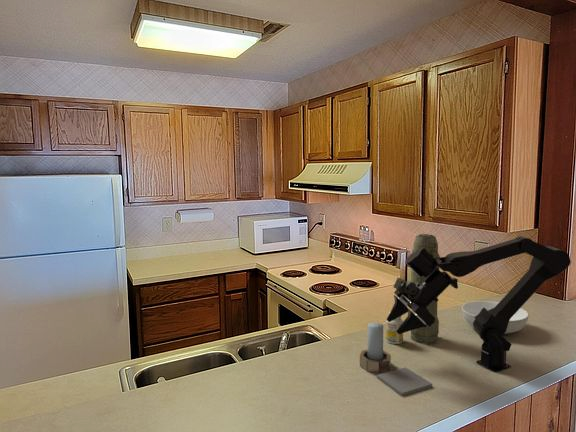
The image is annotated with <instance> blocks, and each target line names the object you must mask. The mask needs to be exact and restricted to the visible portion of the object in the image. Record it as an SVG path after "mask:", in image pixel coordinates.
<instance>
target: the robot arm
mask: <svg viewBox="0 0 576 432" xmlns="http://www.w3.org/2000/svg"><path fill="white" fill-rule="evenodd" d="M522 254H527V255H529V256H531V257H532V259H531V261H530V265H529V269H528V270H527V271H526V272H525V274H523V276H522V277H521V278H520V279H519V280H518V281H517V282H516V283H515V285H513V286H512V287H511V289H510V290H509V291H508V292H507V293H506V295H504V296H503V298H502V299H501V300H500V301H498V302H499V303H498V304H497V305H496V307H494V308H492V309H490V310H487V309H485V308H483V309H482V310H481V311H480V313H479V314H478V315H477V316H475V317H474V318H475V320H474V322H473V326H472V327H473V329H474V330H473V331H474V332H475V333H476V334H477V335H478V336H479V338H480V339H481V340H482V344H481V350H480V359H478V360H476V364H478V365H480V366H482V367H484V368H486V369H487V370H491V371H492V372H495V373H498V372H501V371H504V370H508V369H510V368H512V365H511V364H509V363H507V352H509V351H510V350H511V347H512V343H511V342H510V341H509V340H508V339H507V338H506V337H505V336H504V335H505V334H506V333H505V332H506V330H507V327H508V323H509V320H510V319H511V318H512V316H513V315H514V314H515V313H516V312H517V311H518V310H519V309H520V308H522V307H523V306H524V304H526V302H527V301H529V299H530V298H531V297H532V296H533V295H534V294H535V293H536V292H537V291H538V289H540V287H541V286H542V285H544V283H545V282H546V281H548V280H550V279H553V278H556V277H557V276H559V275H560V274H562V273H563V272H564V271H565V270H567V269H568V268H569V267H570V265H571V263H572V261H571V256H570V254H568V252H567V251H564V250H562V249H561V248H560V249H559V248H556V247H554V246H551V245H546V246H544V245H542V244H541V243H538V242H536V241H533V239H531V238H529V237H525V236H521V235H520V236H517V237H514V238H513V239H510V240H505V241H503V242H500V243H495V244H493V245H490V246H486V247H483V248H480V249H477V250H470V251H468V250H466V251H457V252H450V253H448V254H446V255H445V256H440V258H433V257H432V256H431V255H430V254H429V253H428V251H427V250H426V249H425V248H424V247H422V248H421V249H419V250H417V251H415V252H414V253H412V252H411V253H410V255H408V257H406V259H405V262H404V263H405V264H406V265H407V267H409V268H410V269H411V270H413V271H414V272H415V273H416V274H417V275H418V276H419V277H422V276H424V277H427V276H428V277H427V278H426V279H425V280H424V281H423V282H422V283H420V282H417V283H416V284H415V283H412V282H411V280H405V279H403V278H400V277H397V278H396V280H395V282H394V284H393V287H392V288H394V289H395V290H394V292H393V293H394V295H393V298H394V303H393V306H392V308H391V310H390V311H391V312H390V311H389V312H390V314H389V313H388V316H387V317H386V321H388V322H390V321H393V320H395V319H396V318H398V317H400V316H401V317H402V316H404V315H406V314H407V317H406V318H404V320H403V323H402V324H401V325H400V326H399V328H398V329H397V331H396V332H397V333H398V334H401V333H403V334H404V333H407V332H411V330H414V329H418V328H421V327H427V326H426V325H425V324H427V325H428V326H429V327H431V326H432V325H433V324H434V323H435V317H434V316H433V315H432V314H431V313H430V312H429V311H428V309H427V307H428V306H429V305H430V304H431V303H432V302H433V301H435V302H437V303H438V302H439V299H437V297H439V296H440V295H442V294H443V292H444V291H446V290H447V288H448V287H450V286H451V287H452V288H454V289H456V290H457V289H458V288H459V284H458V282H459V281H458V280H459V279H458V278H462V277H463V278H464V277H465V276H467V275H469V274H471V273H473V272H475V271H477V270H478V269H479V268H480V267H482V266H484V265H488V264H492V263H495V262H497V261H502V260H504V259H509V258H512V257H515V256H518V255H522ZM436 266H438V267H439V269H438V268H436ZM440 269H441V270H440ZM447 272H448V273H450V274H448V273H447ZM451 275H452V276H454V277H452V276H451ZM412 310H413V311H414V312H412Z"/></svg>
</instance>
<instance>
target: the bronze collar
mask: <svg viewBox="0 0 576 432" xmlns="http://www.w3.org/2000/svg"><path fill="white" fill-rule="evenodd" d="M391 365H392V355H391V354H390V353H389V352H387V351H385V350H384V349H383V360H380V361H375V360H369V359H368V349H365V350H361V351H360V354H359V367H361V368H362V369H363V370H364V371H366V372H370V373H377V374H382V373H386V372H390V371H391V370H390V369H391Z"/></svg>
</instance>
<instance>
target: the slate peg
mask: <svg viewBox="0 0 576 432" xmlns="http://www.w3.org/2000/svg"><path fill="white" fill-rule="evenodd" d="M367 350H368V359H369V360H375V361H380V360H383V350H384V324H383V323H380V322H368V323H367Z"/></svg>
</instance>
